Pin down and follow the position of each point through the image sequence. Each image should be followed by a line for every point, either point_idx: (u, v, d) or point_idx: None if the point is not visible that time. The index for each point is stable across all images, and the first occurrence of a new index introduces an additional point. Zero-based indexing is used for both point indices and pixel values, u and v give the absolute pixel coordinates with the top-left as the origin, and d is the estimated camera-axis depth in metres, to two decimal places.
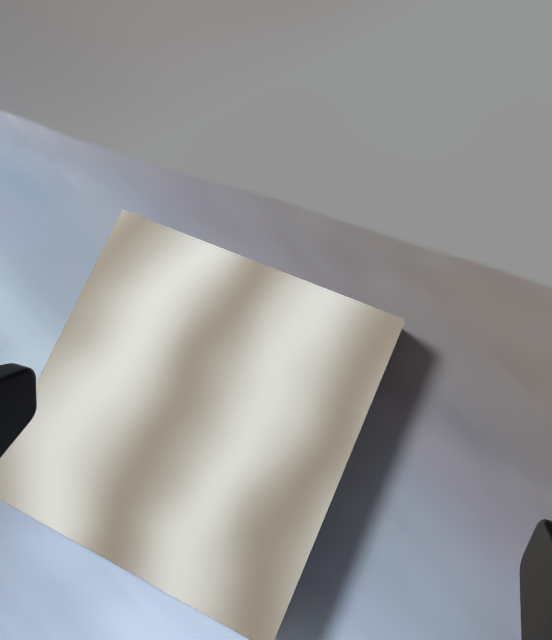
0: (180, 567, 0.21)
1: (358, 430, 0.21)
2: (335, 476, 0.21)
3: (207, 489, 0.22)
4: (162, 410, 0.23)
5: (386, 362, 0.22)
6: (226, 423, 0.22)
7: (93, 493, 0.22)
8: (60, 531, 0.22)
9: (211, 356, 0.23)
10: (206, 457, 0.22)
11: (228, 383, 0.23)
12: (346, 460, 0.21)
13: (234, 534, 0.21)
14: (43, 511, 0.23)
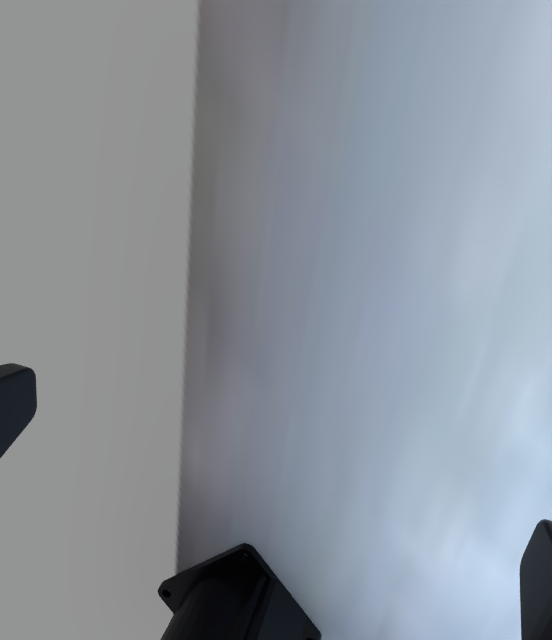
0: None
1: None
2: None
3: None
4: None
5: None
6: None
7: None
8: None
9: None
10: None
11: None
12: None
13: None
14: None
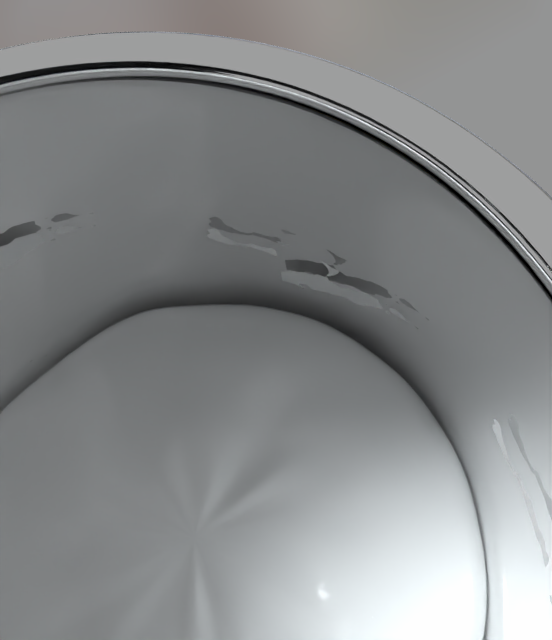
0: None
1: None
2: None
3: None
4: None
5: None
6: None
7: None
8: None
9: None
10: None
11: None
12: None
13: None
14: None
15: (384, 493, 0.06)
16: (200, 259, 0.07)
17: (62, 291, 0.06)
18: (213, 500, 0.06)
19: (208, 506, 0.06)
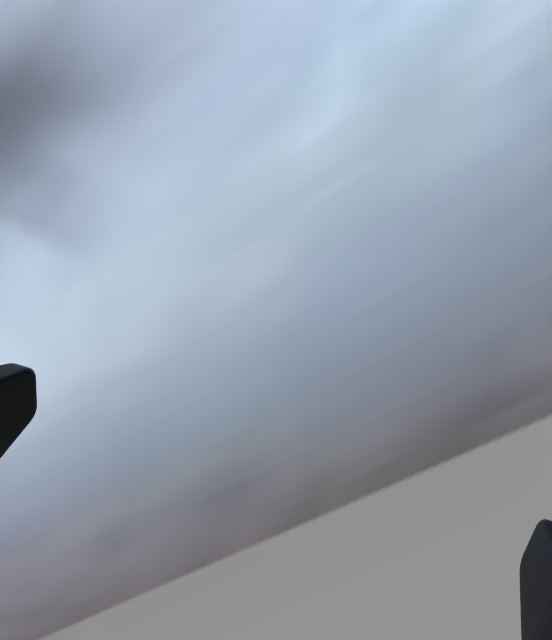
0: None
1: None
2: None
3: None
4: None
5: None
6: None
7: None
8: None
9: None
10: None
11: None
12: None
13: None
14: None
15: None
16: None
17: None
18: None
19: None
